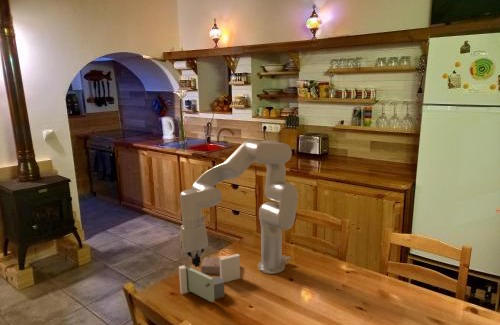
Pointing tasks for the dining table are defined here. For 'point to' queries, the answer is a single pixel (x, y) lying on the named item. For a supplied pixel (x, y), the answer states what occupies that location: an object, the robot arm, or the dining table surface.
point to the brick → (210, 265)
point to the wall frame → (227, 271)
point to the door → (200, 284)
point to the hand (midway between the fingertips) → (196, 265)
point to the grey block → (218, 287)
